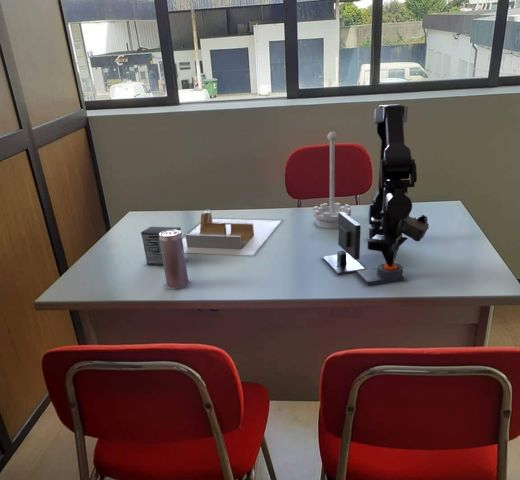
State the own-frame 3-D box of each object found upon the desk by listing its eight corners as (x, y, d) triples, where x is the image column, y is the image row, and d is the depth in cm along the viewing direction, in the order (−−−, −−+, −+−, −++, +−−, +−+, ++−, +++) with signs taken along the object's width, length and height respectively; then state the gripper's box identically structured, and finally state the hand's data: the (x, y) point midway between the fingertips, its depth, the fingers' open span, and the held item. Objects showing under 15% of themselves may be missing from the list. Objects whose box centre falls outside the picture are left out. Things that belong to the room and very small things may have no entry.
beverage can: (168, 281, 147) (159, 230, 139) (189, 279, 147) (181, 228, 140) (166, 290, 142) (157, 237, 134) (188, 288, 142) (180, 235, 135)
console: (393, 269, 144) (393, 259, 143) (406, 280, 137) (407, 269, 136) (356, 274, 143) (356, 264, 141) (368, 286, 136) (368, 275, 134)
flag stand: (353, 227, 177) (355, 133, 162) (314, 230, 178) (313, 136, 162) (348, 216, 188) (350, 127, 173) (312, 218, 189) (310, 130, 173)
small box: (186, 259, 161) (181, 226, 156) (177, 267, 156) (171, 233, 151) (156, 257, 165) (150, 225, 159) (146, 265, 159) (140, 232, 154)
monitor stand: (348, 255, 155) (348, 243, 153) (365, 271, 144) (365, 258, 142) (322, 259, 154) (322, 246, 152) (337, 275, 143) (337, 262, 141)
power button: (393, 268, 140) (393, 262, 140) (399, 273, 137) (399, 267, 137) (380, 270, 140) (381, 264, 139) (386, 275, 137) (386, 269, 136)
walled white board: (166, 251, 169) (163, 229, 165) (206, 218, 197) (204, 198, 193) (252, 255, 161) (250, 231, 157) (281, 220, 189) (280, 199, 185)
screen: (343, 244, 153) (343, 212, 148) (359, 259, 142) (361, 225, 137) (334, 245, 153) (334, 213, 148) (350, 260, 142) (351, 226, 137)
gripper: (413, 221, 119) (408, 284, 127) (438, 200, 132) (431, 258, 140) (368, 216, 125) (365, 276, 133) (395, 196, 138) (391, 252, 146)
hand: (390, 265), depth 138 cm, fingers closed, pressing on power button
